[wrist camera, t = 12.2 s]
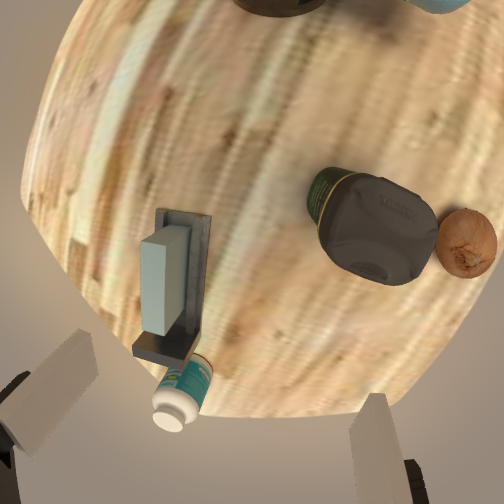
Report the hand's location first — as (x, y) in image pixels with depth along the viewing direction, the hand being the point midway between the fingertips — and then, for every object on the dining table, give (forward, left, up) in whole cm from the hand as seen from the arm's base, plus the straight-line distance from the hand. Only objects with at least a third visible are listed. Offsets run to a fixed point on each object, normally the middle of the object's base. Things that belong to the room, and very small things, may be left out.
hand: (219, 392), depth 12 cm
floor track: (+9, -12, -29) cm, 32 cm away
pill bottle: (+26, -9, -29) cm, 40 cm away
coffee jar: (-6, +9, -29) cm, 31 cm away
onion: (-5, +27, -29) cm, 40 cm away
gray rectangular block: (+7, -12, -28) cm, 31 cm away
